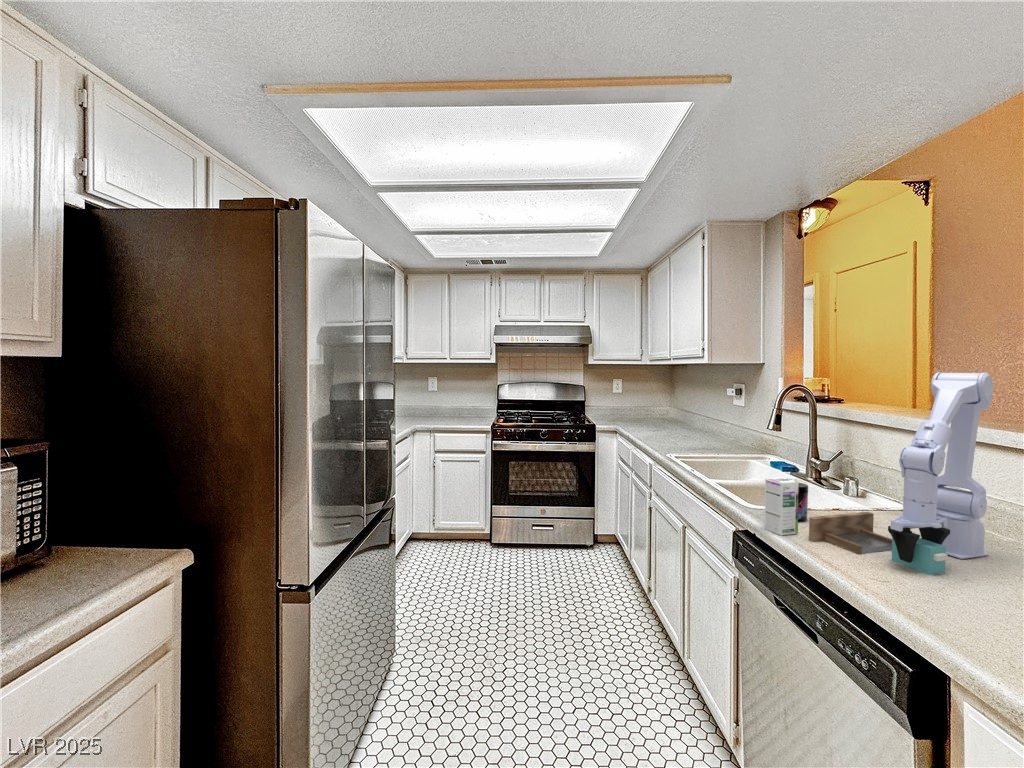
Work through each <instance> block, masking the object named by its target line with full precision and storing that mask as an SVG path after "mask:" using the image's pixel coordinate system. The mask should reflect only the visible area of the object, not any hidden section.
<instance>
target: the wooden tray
mask: <svg viewBox="0 0 1024 768" xmlns="http://www.w3.org/2000/svg"><path fill="white" fill-rule="evenodd" d="M874 515H875V514H874V512H870V511H861V512H853V513H841V514H830V515H819V516H810V517H809V519H808V522H809V523H808V524H809V526H808V541H811V542H813V543H817V542H818V543H819V542H826V541H827V542H826V543H829V544H831V543H832V544H831V545H834V546H836V545H837V547H839V546H840V547H839V548H841V547H843V548H842V549H844V548H845V549H844V550H846V549H848V550H847V551H849V550H850V551H849V552H851V551H852V553H854V552H855V554H856V553H857V554H856V555H863V554H862V546H861V545H859V544H856V543H853V542H851V541H848V540H845V539H843V538H840V537H837V536H835V535H843V534H852V533H863V534H866V535H869V536H871V537H874V538H877V539H880V540H883V541H886V542H889V543H891V544H892V537H891V538H890V537H888V536H885V535H881V534H878V533H877V532H876V533H875V532H874V518H875V517H874Z"/></svg>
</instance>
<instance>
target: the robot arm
mask: <svg viewBox="0 0 1024 768" xmlns="http://www.w3.org/2000/svg"><path fill="white" fill-rule="evenodd" d="M930 390H931V393H932V396H933V399H934V402H933V405H932V408H931V412H930V415H929V418H928V419H927V420H924V421H922V422H920V423H919V426H918V428H917V430H916V432H915V434H914V436H913V438H912V441H911V443H910V445H908V446H906V447H903V448H901V451H900V455H899V458H898V461H899V466H900V469H901V472H900V473H901V477H902V478H903V501H902V515H901V516H899V517H897V518H895V519H891V520H890V525H888V526H887V531H888V533H889V534H890V536H891V538H892V537H893V539H894V542H895V544H896V547H897V551H898V555H899V558H900V560H903V561H906V562H908V563H911V562H912V560H913V555H914V548H915V545H916V542H917V541H918V539H919V538H921V539H924V540H928V541H931V542H934V543H937V544H940V545H943V546H946V554H948V555H949V556H951V557H954V558H957V559H960V560H966V559H971V558H972V559H973V558H979V557H986V556H989V553H987V552H985V534H986V533H985V531H986V530H985V529H986V528H985V526H984V524H983V522H982V520H980V519H982V518H984V517H985V515H986V512H987V508H988V507H987V506H988V502H987V490H986V488H985V487H984V486H983V485H981V483H979V482H977V481H976V480H975V479H974V478H973V477H972V476H973V468H974V460H975V451H976V442H977V434H978V428H979V421H980V417H981V413H982V411H984V410H987V409H990V408H991V404H992V399H993V393H994V392H993V391H994V382H993V378H992V376H991V375H990V374H989V373H988V372H942V371H940V372H939V371H938V372H935V374H933V376H932V378H931V382H930ZM949 425H950V426H949ZM946 448H947V451H946V452H945V450H946ZM945 459H946V460H945ZM943 470H944V473H943V474H942V475H940V474H941V473H942V472H943ZM952 487H953V488H952ZM957 488H959V489H957ZM963 489H965V490H963ZM968 490H969V491H968ZM912 529H918V530H919V534H918V533H915V532H913V531H912Z"/></svg>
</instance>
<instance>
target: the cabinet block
mask: <svg viewBox="0 0 1024 768" xmlns="http://www.w3.org/2000/svg"><path fill="white" fill-rule="evenodd" d="M891 539H892V550H891V561H893V562H895V563H897V564H899V565H903V566H905V567H908V568H910V569H913V570H916V571H918V572H921V573H923V574H926V575H928V576H933V575H941V574H945V573H946V561H948V554H946V546H943V545H940V544H937V543H934V542H931V541H928V540H924V539H921V537H919V539H918V541H917V542H916V545H915V548H914V555H913V560H912V562H911V563H908V562H906V561H903V560H900V558H899V555H898V551H897V547H896V544H895V542H894V539H893V537H892V536H891Z"/></svg>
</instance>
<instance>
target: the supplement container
mask: <svg viewBox="0 0 1024 768" xmlns="http://www.w3.org/2000/svg"><path fill="white" fill-rule="evenodd" d="M808 501H809V485H808V484H806V483H805V482H804V483H803V482H799V481H798V523H801V522H803V523H804V522H806V521H807V520H808V507H809V506H808V505H809V504H808V503H809V502H808Z"/></svg>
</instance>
